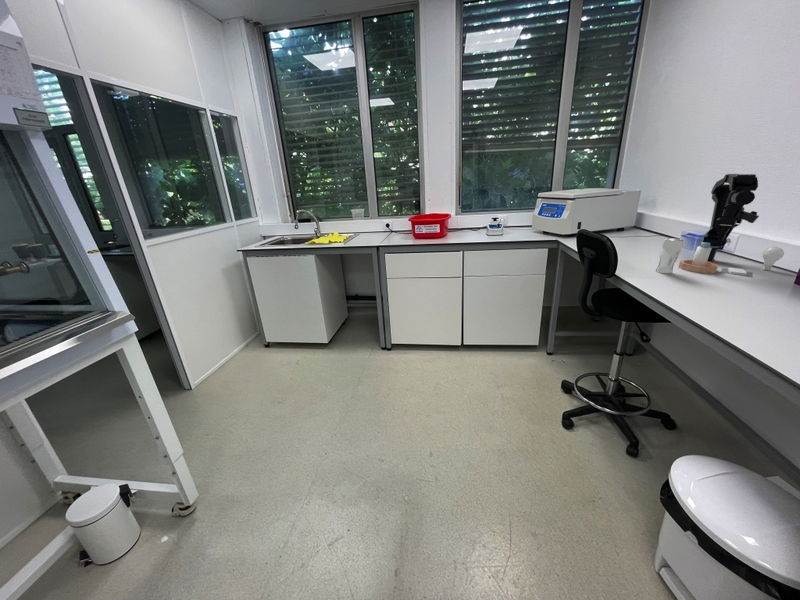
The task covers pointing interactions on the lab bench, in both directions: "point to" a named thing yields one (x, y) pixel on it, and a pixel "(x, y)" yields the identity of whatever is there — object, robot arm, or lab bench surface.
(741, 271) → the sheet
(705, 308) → the lab bench surface
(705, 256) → the bottle
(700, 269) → the bowl
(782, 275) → the lab bench surface
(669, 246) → the beer glass
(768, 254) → the lightbulb
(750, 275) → the mat
